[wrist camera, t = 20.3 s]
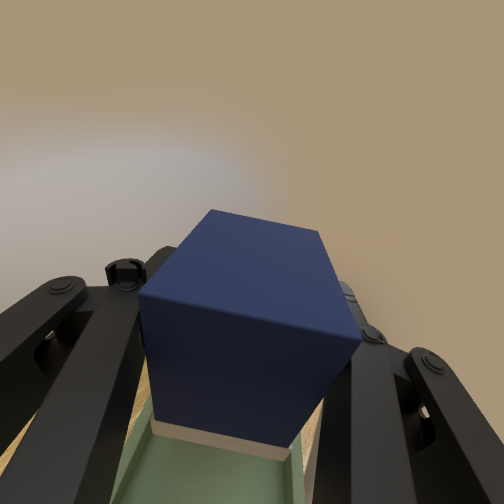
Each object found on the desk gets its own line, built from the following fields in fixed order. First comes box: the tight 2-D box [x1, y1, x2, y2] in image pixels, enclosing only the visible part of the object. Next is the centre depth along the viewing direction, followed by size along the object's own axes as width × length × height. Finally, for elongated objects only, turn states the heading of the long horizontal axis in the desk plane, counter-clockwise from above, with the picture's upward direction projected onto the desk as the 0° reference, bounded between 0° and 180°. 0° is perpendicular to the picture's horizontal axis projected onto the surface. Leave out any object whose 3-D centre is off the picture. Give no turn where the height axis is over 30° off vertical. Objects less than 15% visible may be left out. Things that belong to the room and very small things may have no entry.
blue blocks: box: [138, 209, 363, 461], centre depth 15 cm, size 16×6×9 cm, turn 174°
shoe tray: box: [110, 393, 306, 504], centre depth 20 cm, size 22×12×3 cm, turn 174°
